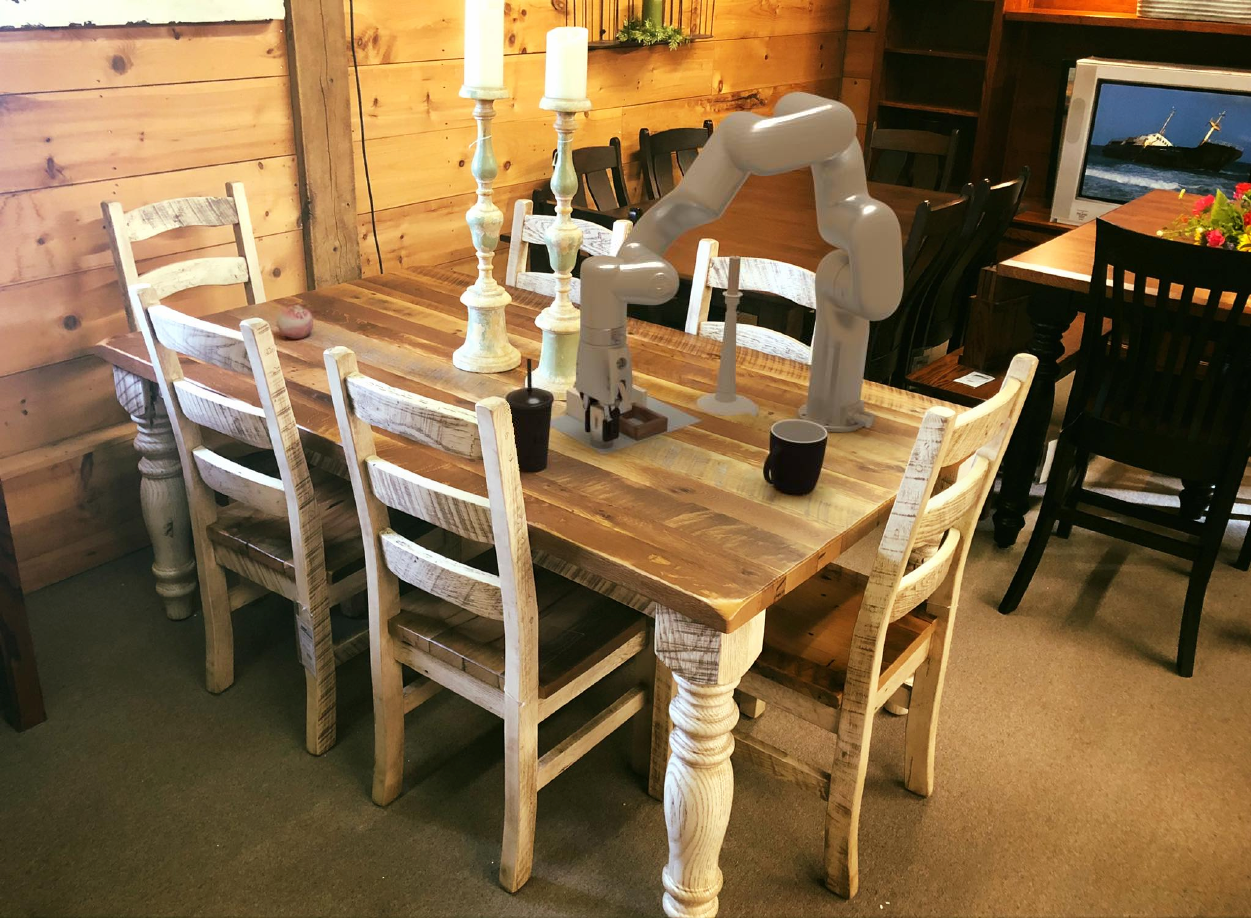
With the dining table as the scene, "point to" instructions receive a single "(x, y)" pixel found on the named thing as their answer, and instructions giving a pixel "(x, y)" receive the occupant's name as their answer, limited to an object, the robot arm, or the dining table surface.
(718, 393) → the candlestick
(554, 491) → the dining table surface
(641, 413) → the socket
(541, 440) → the drinking cup
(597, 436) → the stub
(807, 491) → the mug
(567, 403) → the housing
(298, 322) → the apple
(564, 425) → the board
